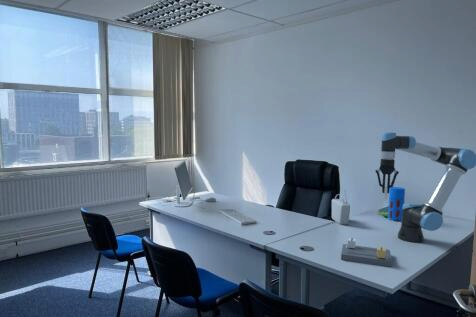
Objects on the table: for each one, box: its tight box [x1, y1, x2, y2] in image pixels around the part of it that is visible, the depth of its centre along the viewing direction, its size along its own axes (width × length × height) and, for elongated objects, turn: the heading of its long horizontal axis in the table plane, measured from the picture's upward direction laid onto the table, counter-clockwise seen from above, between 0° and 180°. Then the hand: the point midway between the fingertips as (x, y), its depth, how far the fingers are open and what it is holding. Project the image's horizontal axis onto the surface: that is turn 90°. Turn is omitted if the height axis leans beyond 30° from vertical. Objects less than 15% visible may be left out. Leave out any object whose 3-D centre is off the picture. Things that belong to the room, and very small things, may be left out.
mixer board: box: [340, 243, 393, 268], centre depth 191 cm, size 25×18×3 cm
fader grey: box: [347, 237, 357, 248], centre depth 198 cm, size 4×5×4 cm
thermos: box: [387, 186, 406, 222], centre depth 274 cm, size 11×11×25 cm
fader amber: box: [376, 246, 387, 258], centre depth 184 cm, size 4×5×4 cm
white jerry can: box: [331, 189, 351, 226], centre depth 264 cm, size 22×8×25 cm, turn 4°
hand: (385, 198), depth 206 cm, fingers closed
